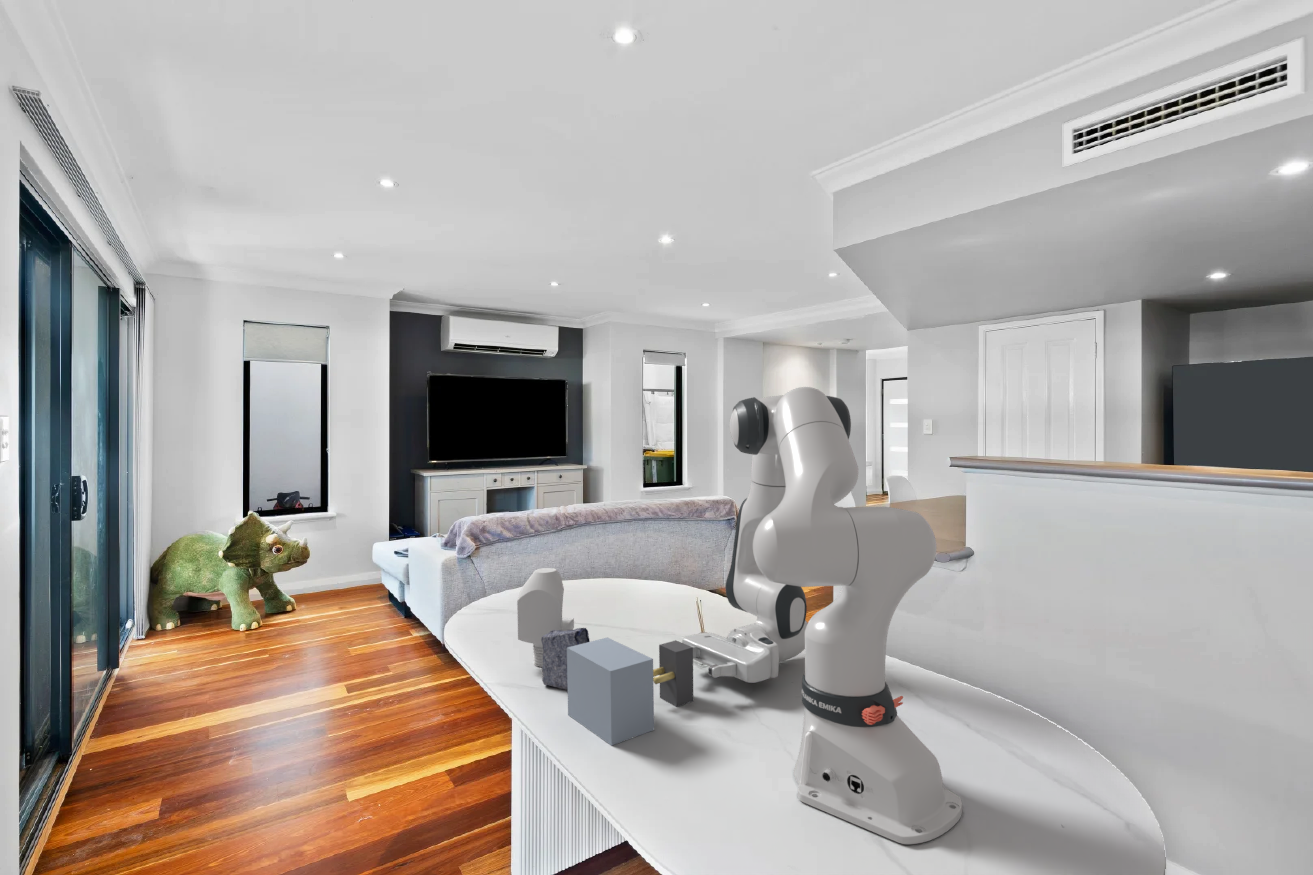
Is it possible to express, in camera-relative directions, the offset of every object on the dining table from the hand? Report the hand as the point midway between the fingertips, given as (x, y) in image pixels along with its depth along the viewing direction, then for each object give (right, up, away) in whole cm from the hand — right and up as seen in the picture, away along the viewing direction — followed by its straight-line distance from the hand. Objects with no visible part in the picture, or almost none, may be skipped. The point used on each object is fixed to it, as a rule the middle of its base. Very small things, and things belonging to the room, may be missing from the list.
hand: (694, 664), depth 123 cm
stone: (-25, -6, +6) cm, 27 cm away
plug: (-5, -6, -4) cm, 8 cm away
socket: (-15, -6, -11) cm, 20 cm away
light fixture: (-31, -6, +17) cm, 36 cm away
